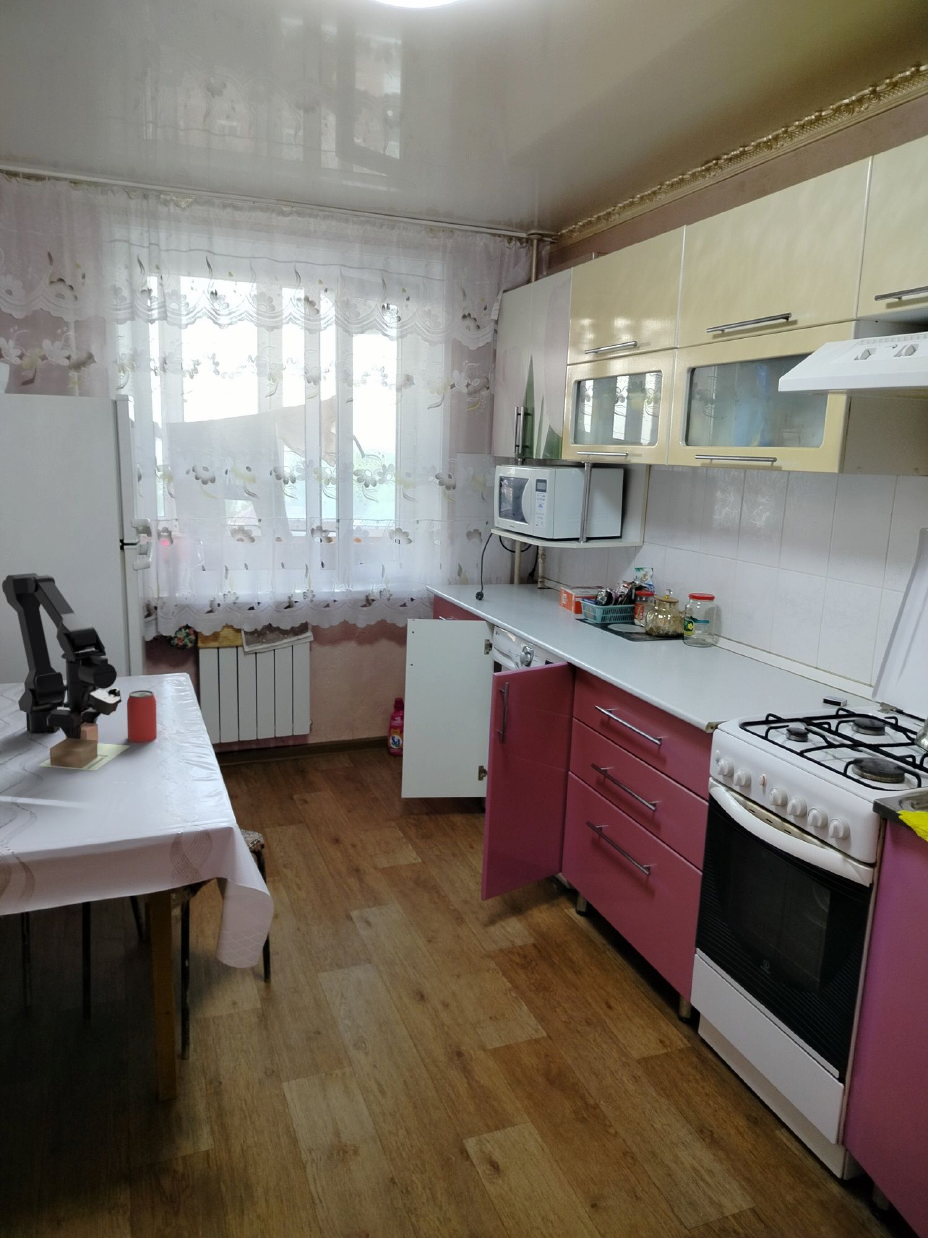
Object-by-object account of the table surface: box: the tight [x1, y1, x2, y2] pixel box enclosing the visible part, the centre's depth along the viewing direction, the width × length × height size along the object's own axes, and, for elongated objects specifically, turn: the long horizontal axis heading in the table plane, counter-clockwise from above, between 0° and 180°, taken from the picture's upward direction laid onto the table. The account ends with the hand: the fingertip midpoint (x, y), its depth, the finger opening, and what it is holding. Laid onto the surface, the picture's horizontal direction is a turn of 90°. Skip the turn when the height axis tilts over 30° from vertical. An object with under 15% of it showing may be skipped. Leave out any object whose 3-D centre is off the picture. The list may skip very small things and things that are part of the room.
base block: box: [49, 737, 98, 768], centre depth 188 cm, size 7×7×4 cm
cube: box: [65, 723, 99, 745], centre depth 197 cm, size 5×5×5 cm
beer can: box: [126, 689, 158, 743], centre depth 205 cm, size 7×7×12 cm
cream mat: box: [38, 742, 130, 771], centre depth 192 cm, size 13×16×1 cm
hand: (82, 744), depth 197 cm, fingers closed on cube, 5 cm apart
